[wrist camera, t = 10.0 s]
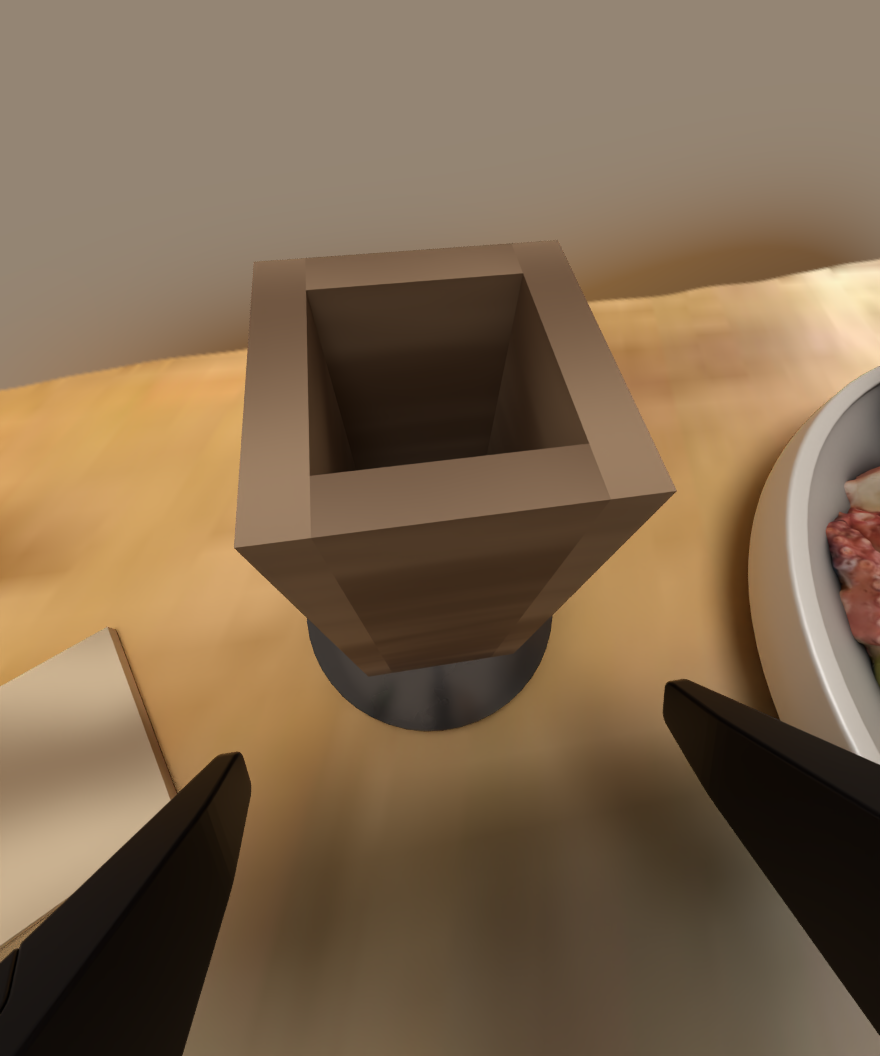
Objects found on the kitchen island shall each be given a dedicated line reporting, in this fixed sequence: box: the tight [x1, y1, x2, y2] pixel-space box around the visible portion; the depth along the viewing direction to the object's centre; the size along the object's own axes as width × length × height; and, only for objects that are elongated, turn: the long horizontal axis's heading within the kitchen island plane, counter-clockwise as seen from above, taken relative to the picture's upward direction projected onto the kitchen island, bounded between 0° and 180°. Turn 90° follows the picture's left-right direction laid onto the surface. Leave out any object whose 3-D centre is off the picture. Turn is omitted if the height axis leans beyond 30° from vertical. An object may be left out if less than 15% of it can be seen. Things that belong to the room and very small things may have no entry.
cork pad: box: [0, 627, 177, 949], centre depth 15 cm, size 8×8×1 cm
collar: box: [234, 240, 677, 677], centre depth 12 cm, size 6×6×12 cm
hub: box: [307, 616, 552, 731], centre depth 16 cm, size 10×10×5 cm
